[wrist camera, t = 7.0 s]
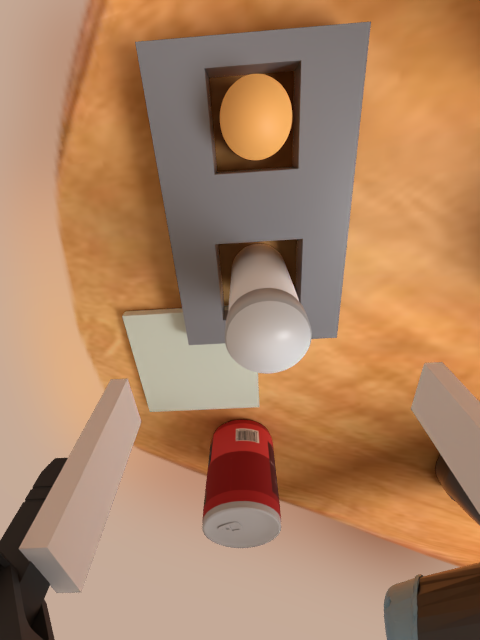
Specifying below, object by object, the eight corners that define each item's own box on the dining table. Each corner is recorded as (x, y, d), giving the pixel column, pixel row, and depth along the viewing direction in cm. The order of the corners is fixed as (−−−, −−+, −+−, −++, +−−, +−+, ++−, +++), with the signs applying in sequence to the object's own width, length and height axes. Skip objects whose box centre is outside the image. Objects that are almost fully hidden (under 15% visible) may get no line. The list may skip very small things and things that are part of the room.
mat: (258, 400, 37) (259, 407, 36) (151, 405, 37) (149, 411, 36) (254, 303, 30) (254, 308, 29) (125, 311, 31) (122, 316, 30)
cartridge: (285, 293, 30) (310, 372, 19) (232, 296, 30) (228, 376, 20) (286, 240, 27) (314, 298, 17) (228, 244, 27) (220, 303, 17)
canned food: (199, 432, 39) (186, 523, 30) (252, 408, 37) (257, 498, 28) (231, 464, 43) (228, 556, 33) (282, 444, 41) (295, 536, 31)
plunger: (284, 156, 23) (291, 157, 20) (225, 160, 23) (223, 162, 20) (284, 83, 21) (293, 70, 17) (220, 88, 21) (216, 76, 18)
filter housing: (328, 321, 31) (336, 337, 29) (193, 329, 32) (188, 345, 29) (354, 37, 21) (370, 21, 18) (148, 55, 21) (135, 42, 18)
